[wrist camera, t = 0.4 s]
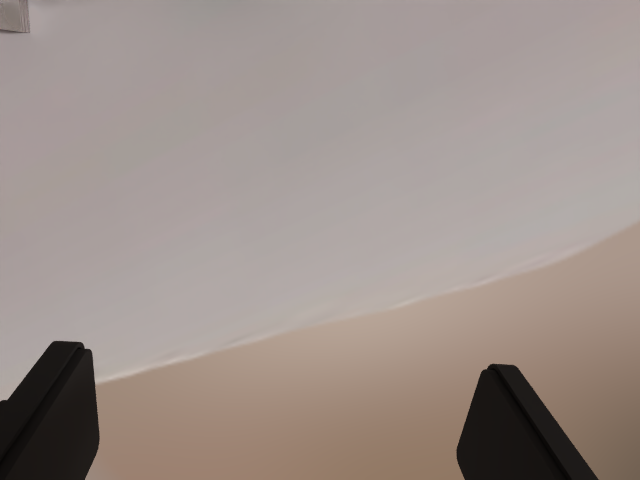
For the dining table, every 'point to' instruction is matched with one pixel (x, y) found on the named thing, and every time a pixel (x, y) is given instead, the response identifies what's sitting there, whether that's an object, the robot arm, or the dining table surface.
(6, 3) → the steel stand
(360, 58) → the dining table surface
